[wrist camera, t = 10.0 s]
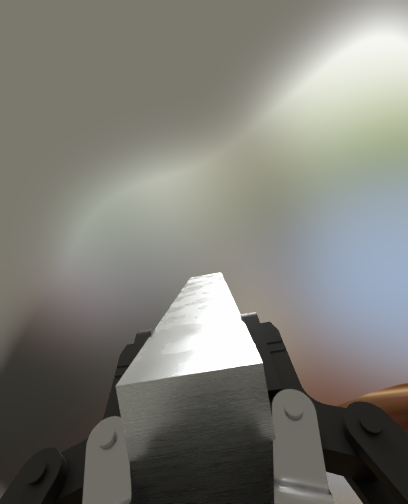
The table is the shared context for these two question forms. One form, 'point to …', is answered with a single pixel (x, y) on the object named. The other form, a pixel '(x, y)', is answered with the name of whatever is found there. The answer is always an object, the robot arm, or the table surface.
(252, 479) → the rail
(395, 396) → the table surface
